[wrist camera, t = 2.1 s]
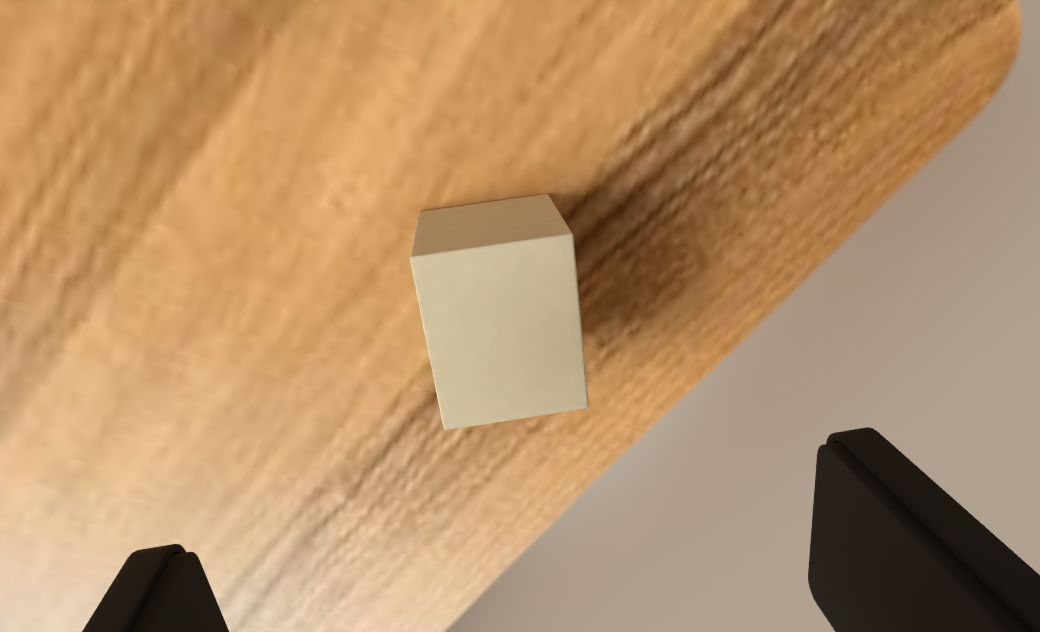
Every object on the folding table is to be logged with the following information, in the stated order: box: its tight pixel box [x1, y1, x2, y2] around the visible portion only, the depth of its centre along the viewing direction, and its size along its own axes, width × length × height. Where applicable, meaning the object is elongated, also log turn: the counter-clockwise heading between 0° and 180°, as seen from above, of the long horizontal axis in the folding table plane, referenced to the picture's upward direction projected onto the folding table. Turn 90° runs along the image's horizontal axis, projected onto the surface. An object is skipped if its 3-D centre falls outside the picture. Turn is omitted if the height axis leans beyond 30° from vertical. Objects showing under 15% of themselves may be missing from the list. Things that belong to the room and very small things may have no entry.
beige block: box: [410, 194, 589, 430], centre depth 19 cm, size 4×5×4 cm
